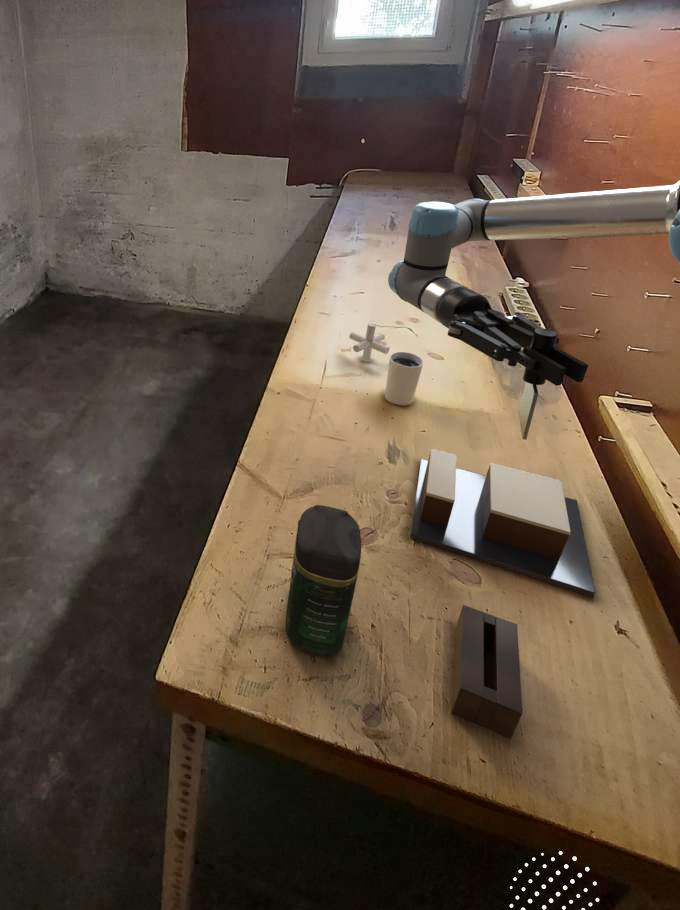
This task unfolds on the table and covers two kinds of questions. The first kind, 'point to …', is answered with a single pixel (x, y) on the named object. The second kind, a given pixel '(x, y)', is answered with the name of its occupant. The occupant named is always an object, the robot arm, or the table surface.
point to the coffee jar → (323, 580)
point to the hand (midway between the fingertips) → (571, 375)
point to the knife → (535, 377)
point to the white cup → (402, 377)
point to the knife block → (503, 692)
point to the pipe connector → (369, 342)
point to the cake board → (468, 541)
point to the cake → (524, 511)
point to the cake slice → (439, 488)
